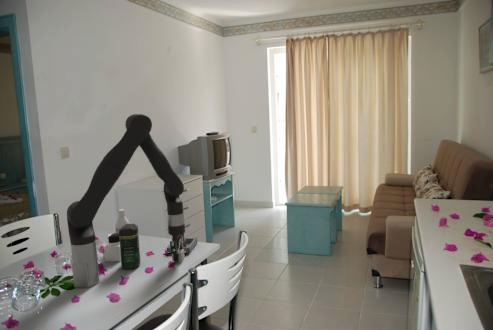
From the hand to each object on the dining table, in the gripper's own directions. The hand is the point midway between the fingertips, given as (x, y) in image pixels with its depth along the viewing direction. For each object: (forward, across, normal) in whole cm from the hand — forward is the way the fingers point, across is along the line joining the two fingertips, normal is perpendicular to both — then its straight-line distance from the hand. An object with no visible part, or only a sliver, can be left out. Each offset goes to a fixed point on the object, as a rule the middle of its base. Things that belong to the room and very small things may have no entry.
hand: (178, 258), depth 181 cm
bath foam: (+1, +15, +32) cm, 36 cm away
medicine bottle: (+1, +1, +30) cm, 31 cm away
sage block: (+1, 0, 0) cm, 1 cm away
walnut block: (0, +12, +2) cm, 12 cm away
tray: (+1, +15, +2) cm, 15 cm away
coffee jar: (+1, -7, +20) cm, 21 cm away
